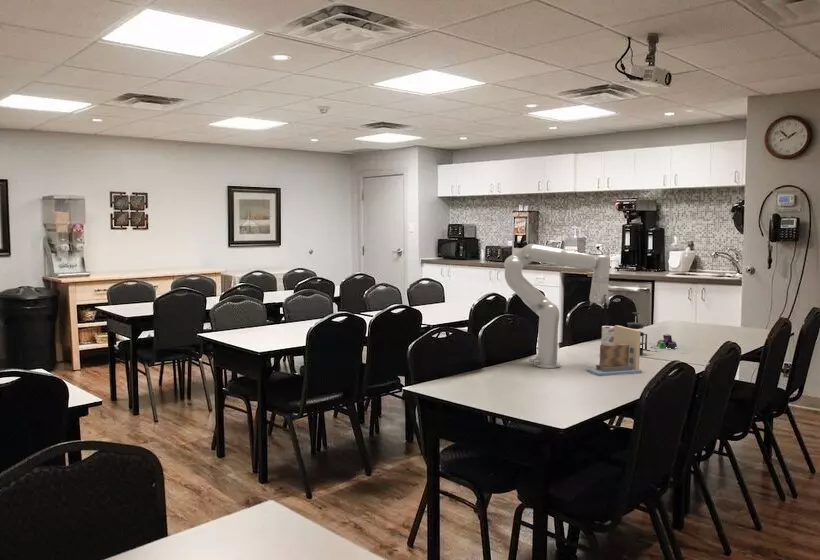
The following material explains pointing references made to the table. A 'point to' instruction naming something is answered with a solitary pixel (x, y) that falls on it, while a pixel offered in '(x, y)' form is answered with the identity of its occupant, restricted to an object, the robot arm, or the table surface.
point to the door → (614, 355)
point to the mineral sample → (667, 342)
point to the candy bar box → (607, 335)
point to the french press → (640, 326)
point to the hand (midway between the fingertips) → (598, 314)
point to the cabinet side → (633, 340)
